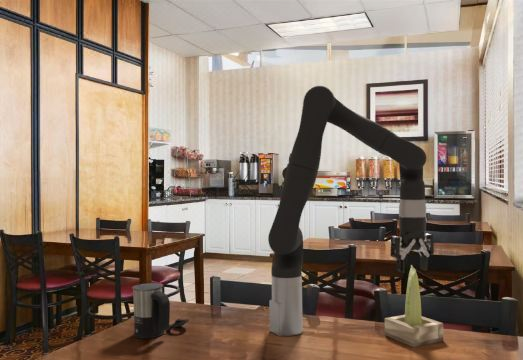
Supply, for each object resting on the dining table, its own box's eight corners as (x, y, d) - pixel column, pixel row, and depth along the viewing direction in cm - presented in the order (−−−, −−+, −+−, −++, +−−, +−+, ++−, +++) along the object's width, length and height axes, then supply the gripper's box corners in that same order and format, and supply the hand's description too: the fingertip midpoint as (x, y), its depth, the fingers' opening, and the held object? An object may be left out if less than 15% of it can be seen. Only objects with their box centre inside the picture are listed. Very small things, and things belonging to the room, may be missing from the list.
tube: (427, 335, 143) (427, 267, 143) (416, 338, 140) (415, 269, 140) (411, 330, 148) (411, 264, 148) (400, 333, 145) (399, 266, 145)
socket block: (413, 347, 136) (413, 329, 136) (384, 335, 147) (384, 318, 147) (443, 340, 141) (443, 323, 141) (413, 329, 152) (413, 313, 152)
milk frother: (126, 337, 150) (125, 287, 150) (157, 322, 164) (157, 277, 164) (166, 342, 144) (165, 291, 144) (194, 327, 158) (194, 280, 158)
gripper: (421, 213, 150) (421, 266, 151) (384, 215, 144) (384, 271, 144) (440, 215, 144) (440, 271, 144) (402, 217, 137) (402, 275, 138)
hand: (412, 271), depth 144 cm, fingers open, 8 cm apart
